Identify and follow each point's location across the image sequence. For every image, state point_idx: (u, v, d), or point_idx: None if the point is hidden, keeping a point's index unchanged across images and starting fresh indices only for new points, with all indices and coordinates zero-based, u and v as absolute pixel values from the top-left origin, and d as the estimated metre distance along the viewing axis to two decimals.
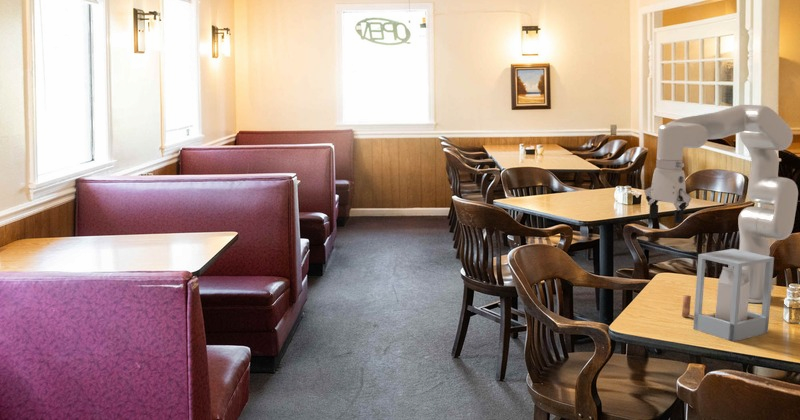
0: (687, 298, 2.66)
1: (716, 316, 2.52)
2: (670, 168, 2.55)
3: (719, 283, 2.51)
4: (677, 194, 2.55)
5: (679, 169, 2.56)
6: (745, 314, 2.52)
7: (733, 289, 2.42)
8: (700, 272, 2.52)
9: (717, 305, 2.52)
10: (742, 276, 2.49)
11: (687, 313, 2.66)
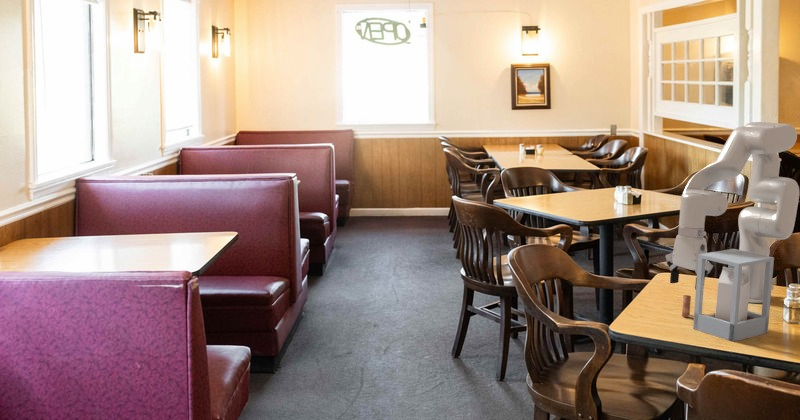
0: (687, 298, 2.66)
1: (716, 316, 2.52)
2: (692, 236, 2.59)
3: (719, 283, 2.51)
4: None
5: (701, 237, 2.60)
6: (745, 314, 2.52)
7: (733, 289, 2.42)
8: (700, 272, 2.52)
9: (717, 305, 2.52)
10: (742, 276, 2.49)
11: (687, 313, 2.66)
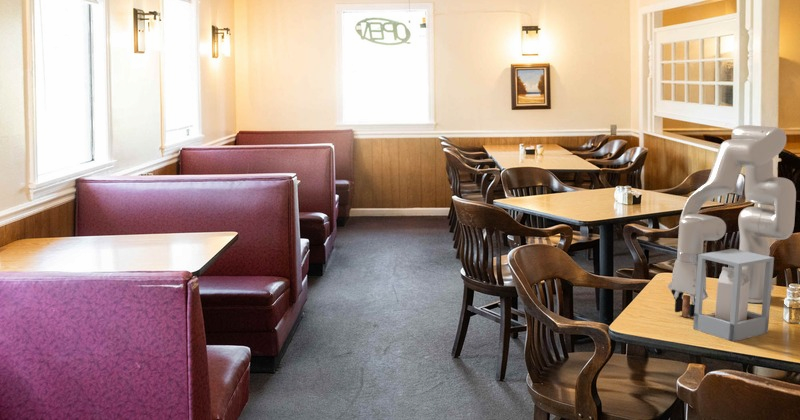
0: (687, 298, 2.66)
1: (716, 316, 2.52)
2: (691, 262, 2.61)
3: (719, 283, 2.51)
4: None
5: None
6: (745, 314, 2.52)
7: (733, 289, 2.42)
8: (700, 272, 2.52)
9: (717, 305, 2.52)
10: (742, 276, 2.49)
11: (687, 313, 2.66)
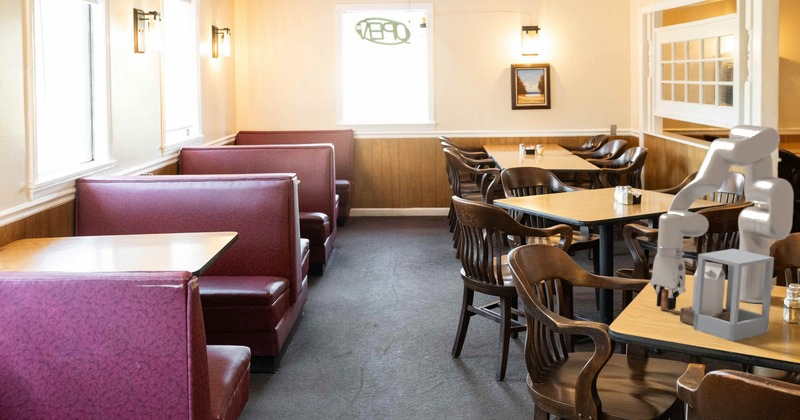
0: (665, 292, 2.73)
1: (692, 309, 2.60)
2: (670, 256, 2.68)
3: (695, 277, 2.58)
4: (677, 281, 2.68)
5: (679, 257, 2.68)
6: (720, 307, 2.59)
7: (733, 289, 2.42)
8: (700, 272, 2.52)
9: (693, 298, 2.59)
10: (717, 270, 2.56)
11: (665, 306, 2.74)
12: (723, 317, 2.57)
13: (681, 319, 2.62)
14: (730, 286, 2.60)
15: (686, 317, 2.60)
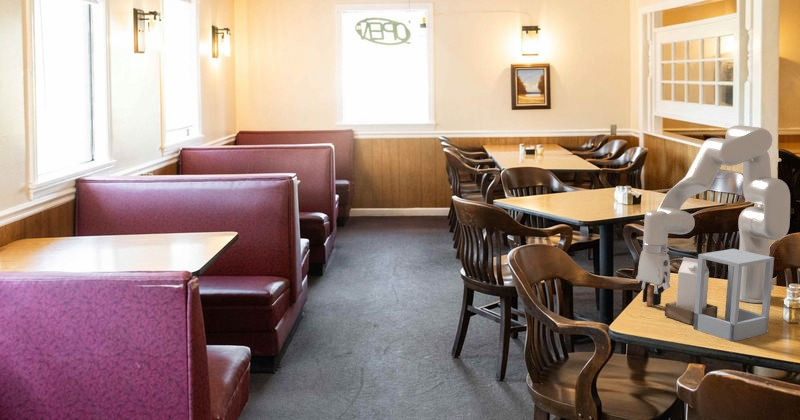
0: (651, 288, 2.78)
1: (677, 304, 2.65)
2: (655, 252, 2.73)
3: (679, 273, 2.63)
4: (662, 277, 2.73)
5: (664, 253, 2.73)
6: (704, 302, 2.64)
7: (733, 289, 2.42)
8: (700, 272, 2.52)
9: (678, 294, 2.64)
10: None
11: (651, 302, 2.79)
12: (707, 312, 2.62)
13: (666, 314, 2.67)
14: (730, 286, 2.60)
15: (671, 312, 2.65)
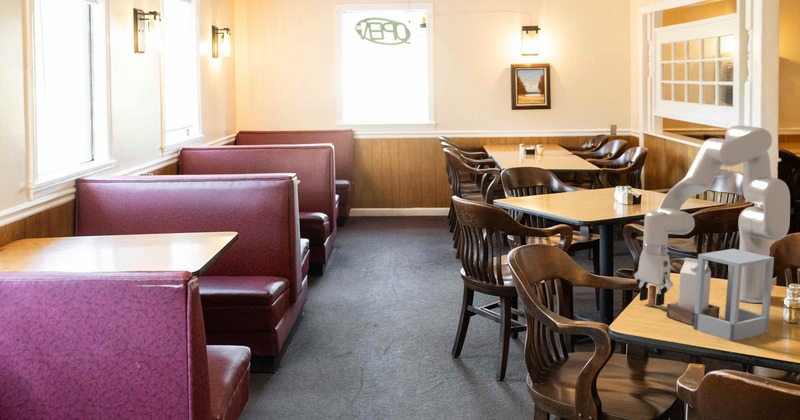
0: (653, 288, 2.77)
1: (679, 305, 2.64)
2: (655, 253, 2.73)
3: (681, 273, 2.62)
4: (662, 277, 2.73)
5: (664, 254, 2.73)
6: (706, 303, 2.64)
7: (733, 289, 2.42)
8: (700, 272, 2.52)
9: (679, 294, 2.63)
10: None
11: (653, 302, 2.78)
12: (709, 313, 2.61)
13: (668, 315, 2.66)
14: (730, 286, 2.60)
15: (673, 312, 2.64)
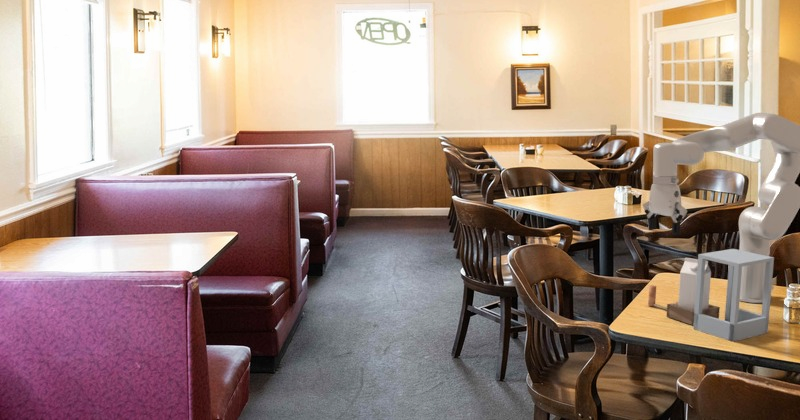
0: (653, 288, 2.77)
1: (679, 305, 2.64)
2: (666, 184, 2.75)
3: (681, 273, 2.62)
4: (674, 208, 2.75)
5: (674, 184, 2.76)
6: (706, 303, 2.64)
7: (733, 289, 2.42)
8: (700, 272, 2.52)
9: (679, 294, 2.63)
10: None
11: (653, 302, 2.78)
12: (709, 313, 2.61)
13: (668, 315, 2.66)
14: (730, 286, 2.60)
15: (673, 312, 2.64)
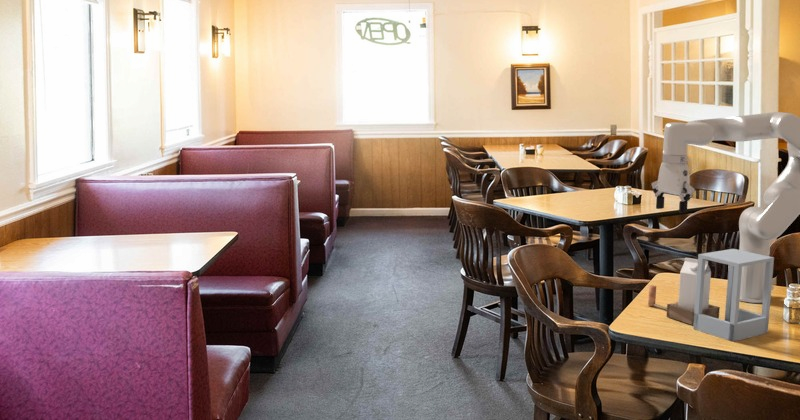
0: (653, 288, 2.77)
1: (679, 305, 2.64)
2: (675, 162, 2.78)
3: (681, 273, 2.62)
4: (682, 186, 2.78)
5: (683, 163, 2.79)
6: (706, 303, 2.64)
7: (733, 289, 2.42)
8: (700, 272, 2.52)
9: (679, 294, 2.63)
10: None
11: (653, 302, 2.78)
12: (709, 313, 2.61)
13: (668, 315, 2.66)
14: (730, 286, 2.60)
15: (673, 312, 2.64)
